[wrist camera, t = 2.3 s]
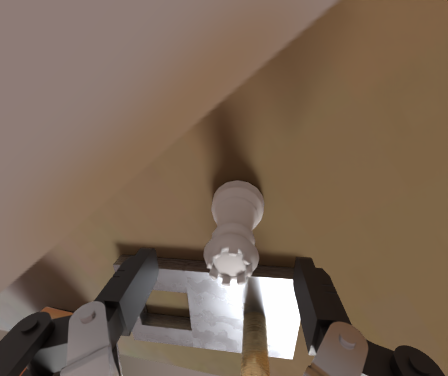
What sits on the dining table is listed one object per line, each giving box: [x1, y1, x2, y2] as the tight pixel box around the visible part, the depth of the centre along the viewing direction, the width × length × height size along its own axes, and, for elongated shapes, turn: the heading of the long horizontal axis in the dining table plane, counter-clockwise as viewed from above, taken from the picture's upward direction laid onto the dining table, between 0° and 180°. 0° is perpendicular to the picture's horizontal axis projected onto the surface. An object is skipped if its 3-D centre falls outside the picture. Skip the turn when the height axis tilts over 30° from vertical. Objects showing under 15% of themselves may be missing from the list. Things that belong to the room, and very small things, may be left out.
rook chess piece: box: [203, 180, 264, 287], centre depth 15 cm, size 4×4×8 cm
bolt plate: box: [113, 255, 300, 376], centre depth 20 cm, size 19×12×10 cm, turn 91°
